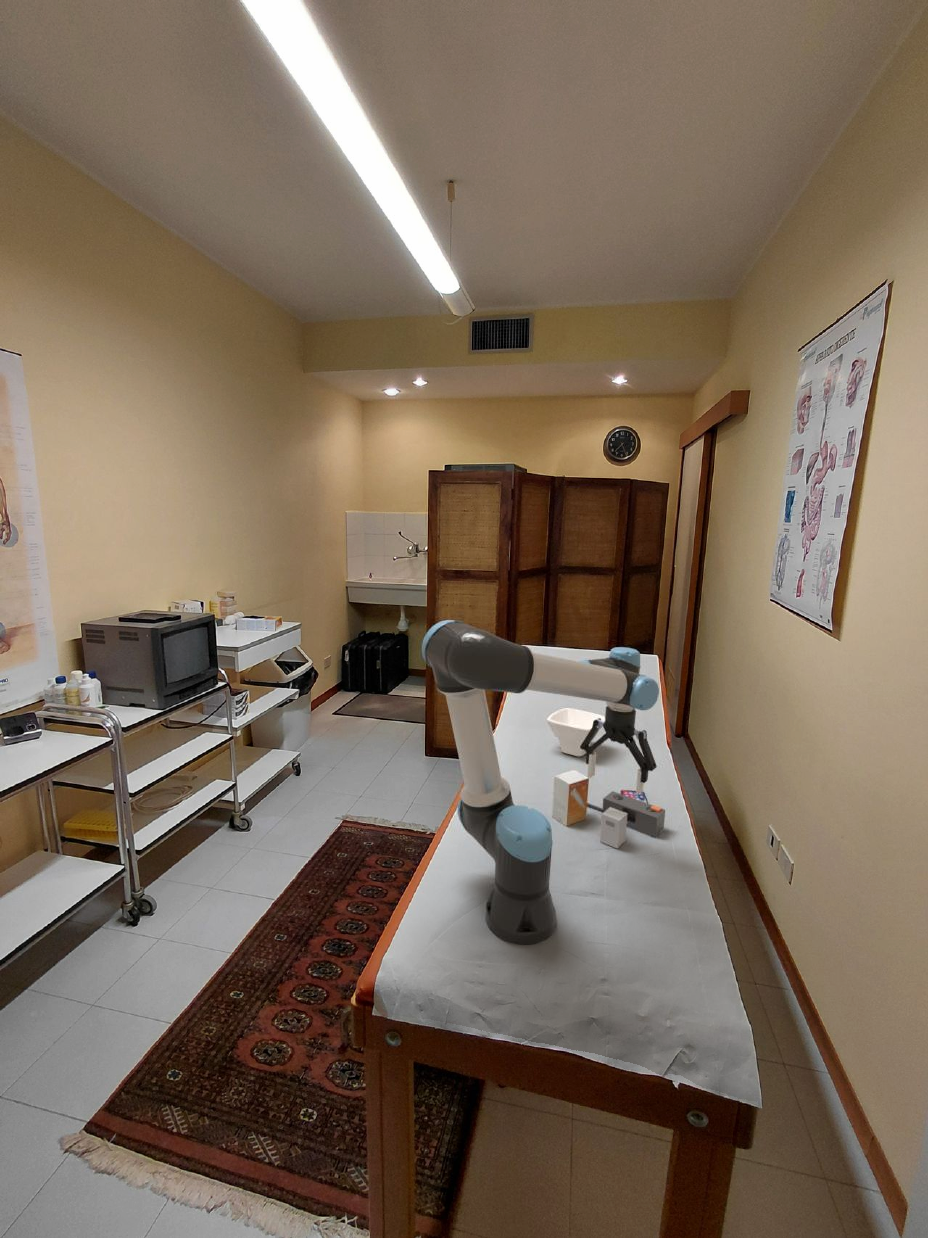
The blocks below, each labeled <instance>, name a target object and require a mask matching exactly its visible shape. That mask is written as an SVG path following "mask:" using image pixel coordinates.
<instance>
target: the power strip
mask: <svg viewBox="0 0 928 1238" xmlns="http://www.w3.org/2000/svg"><path fill="white" fill-rule="evenodd" d="M602 799H603V800H602V807H599V806H597V805H594V804H592V803H589V802H587V808H590V809H592V810H595V811H597V812H600V813H601V815H602V814H603V813H604V812H605V811H606V810H607V809H608V808H610V807H611V808H614V809H617V810H619V811H622V812H625V813H627V826H626V828H628V829H631V830H633V831H636V832H639V833H641V834H644V835H646V836H649V837H651V838H654V839H656V838H657V837H658V836H659V835H660V833H662V832H663V831H664V829H665V818H666V817H665V816H666V809H665V808H663V807H661V806H658V805H654V804H650V803H649V802H648V803H645V802H642V801H639V800H636V799H633V798H630V797H628V796H625V795H622V794H621V793H619V792H616V791H614V790H613V791H611V792H609V793H608V794H607V795H606V796H605V797H603V798H602Z"/></svg>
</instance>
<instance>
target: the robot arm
mask: <svg viewBox="0 0 928 1238" xmlns="http://www.w3.org/2000/svg"><path fill="white" fill-rule="evenodd" d="M421 655H422V657H423V659H424V661H425V663H426V664H427V666H428V667H429V668H431V669H432V673H433V677H434V682H435V686H436V690H437V691H438V692H439V693H441V694H443V695H444V696H445V699H446V704H447V707H448V712H449V717H450V722H451V727H452V732H453V737H454V741H455V745H456V749H457V753H458V754H457V755H458V759H459V764H460V768H461V773H462V778H463V781H464V786H462V788H461V791H460V799H459V800H458V803H457V817H458V819H459V821H460V823H461V825H462V827H463V829H464V830H465V831H466V832H467V833H468V834H469V835H470V836H471V837H472V838H473V839H474V840H475V841H476V842H477V843H478V845H479V846H480V847H482V848H483V849H484V850H485V852H486V853H487V854H488V855H489V856H490V857H491V858H492V859H493V861H494V864H495V865H494V867H495V868H494V884H493V886H492V888H491V891H490V892H489V896H488V898H487V900H486V905H485V922H486V925H487V927H488V928H489V929H490V931H491V932H492V933H493V934H494V935H495V936H497V937H499V938H501V939H502V940H504V941H506V942H508V943H513V944H518V945H531V944H532V945H533V944H538V943H540V942H543V941H544V940H546V939H547V938H549V937H550V936H551V935H552V934H553V932H554V931H555V929H556V919H557V913H556V908H555V905H554V902H553V897H552V894H551V891H550V878H551V865H552V864H551V862H552V851H553V850H552V849H553V833H552V832H553V831H552V827H551V823H550V822H549V820H548V818H547V817H546V816H545V815H544V814H543V813H542V812H540V811H539V810H537V809H536V808H533V807H532V808H529V807H528V806H526V805H515V804H514V801H513V797H512V792H511V790H512V789H511V786H510V783H509V781H508V780H506V779H505V778H504V777H502V774H501V769H500V764H499V758H498V754H497V749H496V742H495V737H494V732H493V727H492V723H491V716H490V712H489V705H488V702H487V701H488V700H487V696H486V691H493V692H502V693H503V692H504V693H511V694H522V693H524V692H526V691H527V690H528V691H533V692H541V693H545V694H546V693H547V694H553V695H559V696H560V695H562V696H566V697H567V696H568V697H574V698H575V697H576V698H581V699H588V700H594V701H601V702H605V704H606V707H605V715H604V716H605V722H604V721H601V719H600V718H598V719H596V720H594V721H593V726H592V728H591V730H590V732H589V733H588V735H587V736H586V738H585V739H584V741H583V743H582V744H581V746H580V748H581V749H582V750H585V751H586V755H585V763H586V764H587V765H588V768H587V777H588V778H589V779H591V778H593V777H594V776H596V764H597V752H596V751H595V750H597V749H598V748H599V747H600V746H601V745H602V744H603V743H605V742H606V741H607V740H610V741H611V742H613V743H615V742H616V743H618V744H620V745H623V744H624V746H625V747H626V748H628V750H629V752H630V754H631V755H632V756H633V758H634V760H635V761H636V763H637V765H638V766H639V769H637V777H636V786H635V787H636V790H635V791H636V794H637V795H639V794H641V793H642V792H644V784H645V783H646V782H647V781H648V780H649V779H648V778H649V772H653V771H654V770H655V769H656V768H657V767H658V766H657V763H656V761H655V758H654V754H653V752H652V750H651V746H650V743H649V742H648V733H647V730H645V729H643V730H636V728H635V726H636V725H635V724H636V714H637V711H636V710H639V711H648V710H650V709H652V708H653V707H654V706H655V704H656V703H657V702H658V698H659V694H660V687H659V684H658V683H657V681H656V680H654V679H653V678H651V677H648V676H647V675H645V674H640V670H641V654H640V651H638V650H637V649H635V648H631V647H626V646H625V647H624V646H623V647H622V646H620V647H613V648H612V649H610V653H609V655H608V656H609V657H606V658H605V657H604V658H595V659H583V660H579V661H576V660H574V659H573V660H571V659H566V658H562V657H557V656H552V655H546V654H541V653H536V652H533V651H532V649H531V648H530V647H529V646H526V645H523V644H519V643H514V642H511V641H509V640H506V639H504V638H501V637H500V636H497V635H495V634H492V633H491V632H488V631H486V630H483V629H480V628H477V627H475V626H471V625H469V624H467V623H466V622H464V621H460V620H453V619H452V620H451V619H446V620H442V621H440V622H437V623H436V624H433V625H432V626H431V628H429V629H428V631H427V633H426V634H425V636H424V637H423V640H422V644H421ZM601 727H602V728H603V730H604V731H605V732H604V734H603V735H602V736H600V738H599V739H597V740H596V741H595V742H594V743H593V744H590V742H591V743H592V741H593V740H594V739H595V738H594V736H595V735H596V733H597V732H598V730H599V728H601ZM602 728H601V729H602ZM598 733H599V732H598ZM596 736H597V735H596ZM634 736H635V737H636V740H638V744H639V746H638V745H637V742H636V740H635V738H634ZM593 738H594V739H593ZM592 739H593V740H592ZM589 744H590V746H589ZM639 748H640V749H641V750H640V749H639Z"/></svg>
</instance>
